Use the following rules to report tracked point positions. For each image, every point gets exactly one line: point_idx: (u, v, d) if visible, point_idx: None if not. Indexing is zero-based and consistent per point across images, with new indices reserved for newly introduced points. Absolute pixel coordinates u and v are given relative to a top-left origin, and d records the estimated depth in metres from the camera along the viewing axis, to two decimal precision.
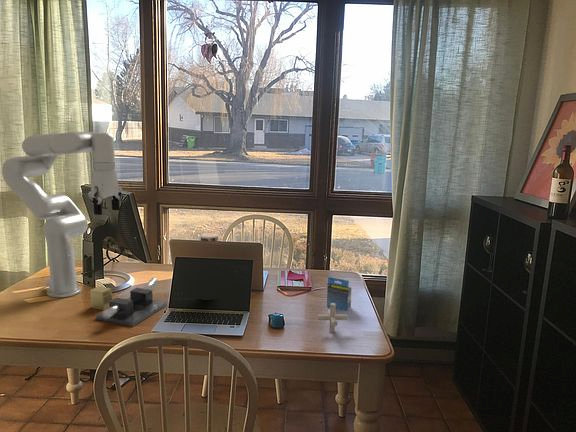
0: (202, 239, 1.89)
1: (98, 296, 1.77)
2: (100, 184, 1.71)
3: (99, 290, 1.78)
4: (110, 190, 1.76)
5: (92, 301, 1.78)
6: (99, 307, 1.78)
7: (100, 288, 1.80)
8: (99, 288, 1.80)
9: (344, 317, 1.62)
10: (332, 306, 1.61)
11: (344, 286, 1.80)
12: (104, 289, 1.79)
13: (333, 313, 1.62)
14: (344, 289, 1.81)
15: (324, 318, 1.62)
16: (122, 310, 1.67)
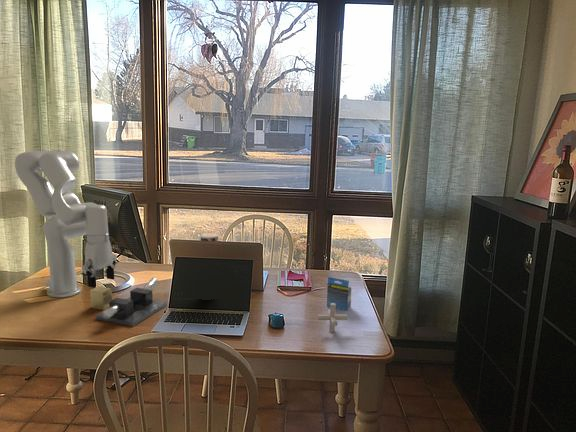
0: (202, 239, 1.89)
1: (98, 296, 1.77)
2: (94, 257, 1.71)
3: (99, 290, 1.78)
4: (104, 261, 1.75)
5: (92, 301, 1.78)
6: (99, 307, 1.78)
7: (100, 288, 1.80)
8: (99, 288, 1.80)
9: (344, 317, 1.62)
10: (332, 306, 1.61)
11: (344, 286, 1.80)
12: (104, 289, 1.79)
13: (333, 313, 1.62)
14: (344, 289, 1.81)
15: (324, 318, 1.62)
16: (122, 310, 1.67)
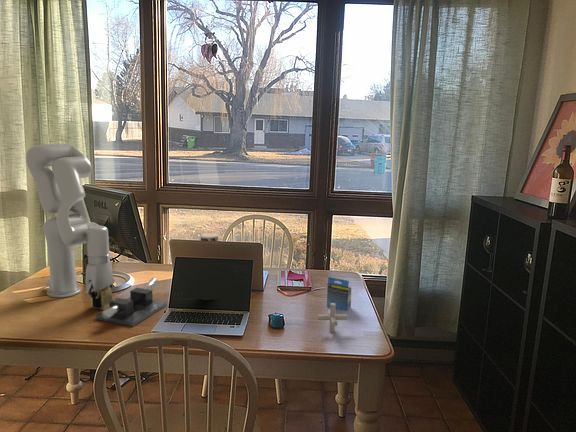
0: (202, 239, 1.89)
1: None
2: (94, 278, 1.73)
3: None
4: (104, 282, 1.77)
5: (92, 301, 1.78)
6: None
7: None
8: None
9: (344, 317, 1.62)
10: (332, 306, 1.61)
11: (344, 286, 1.80)
12: (104, 289, 1.79)
13: (333, 313, 1.62)
14: (344, 290, 1.80)
15: (324, 318, 1.62)
16: (122, 310, 1.67)
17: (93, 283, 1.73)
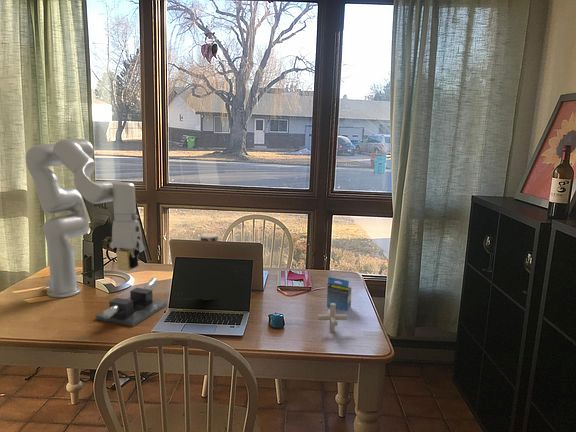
0: (202, 239, 1.89)
1: None
2: (112, 233, 1.70)
3: (123, 249, 1.71)
4: (122, 242, 1.68)
5: None
6: None
7: None
8: None
9: (344, 317, 1.62)
10: (332, 306, 1.61)
11: (344, 286, 1.80)
12: (125, 250, 1.70)
13: (333, 313, 1.62)
14: (344, 290, 1.80)
15: (324, 318, 1.62)
16: (122, 310, 1.67)
17: None
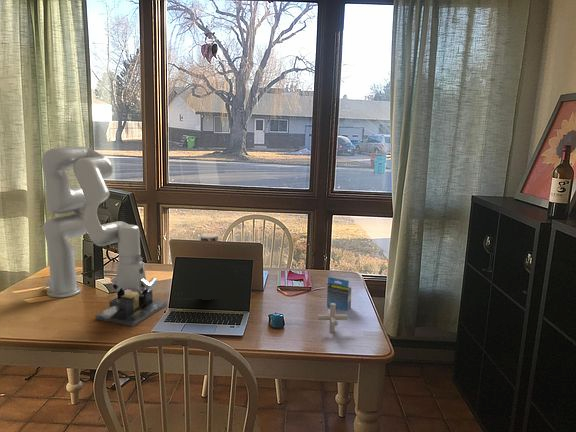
0: (202, 239, 1.89)
1: None
2: None
3: (127, 294, 1.74)
4: (126, 283, 1.71)
5: None
6: None
7: (134, 294, 1.75)
8: (134, 293, 1.75)
9: (344, 317, 1.62)
10: (332, 306, 1.61)
11: (344, 286, 1.80)
12: (129, 296, 1.73)
13: (333, 313, 1.62)
14: (344, 289, 1.81)
15: (324, 318, 1.62)
16: (122, 310, 1.67)
17: None
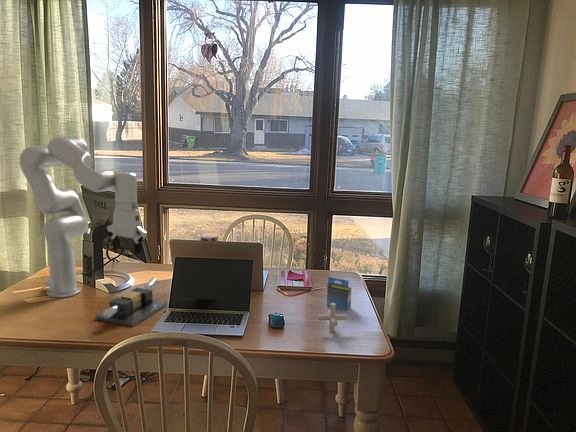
0: (202, 239, 1.89)
1: None
2: None
3: (127, 294, 1.74)
4: (121, 230, 1.72)
5: None
6: None
7: (134, 294, 1.75)
8: (134, 293, 1.75)
9: (344, 317, 1.62)
10: (332, 306, 1.61)
11: (344, 286, 1.80)
12: (129, 296, 1.73)
13: (333, 313, 1.62)
14: (344, 290, 1.80)
15: (324, 318, 1.62)
16: (122, 310, 1.67)
17: None
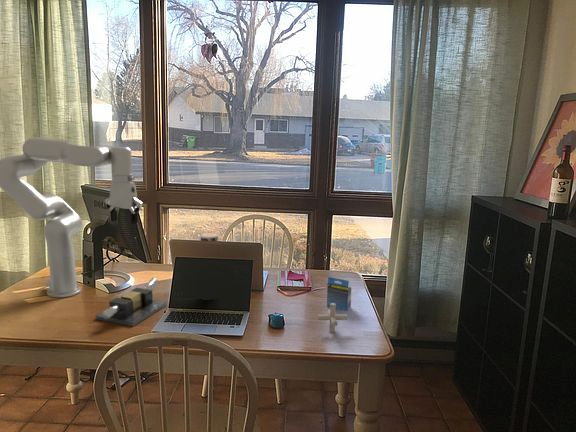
0: (202, 239, 1.89)
1: None
2: (110, 193, 1.85)
3: (127, 294, 1.74)
4: (118, 201, 1.83)
5: None
6: None
7: (134, 294, 1.75)
8: (134, 293, 1.75)
9: (344, 317, 1.62)
10: (332, 306, 1.61)
11: (344, 286, 1.80)
12: (129, 296, 1.73)
13: (333, 313, 1.62)
14: (344, 290, 1.81)
15: (324, 318, 1.62)
16: (122, 310, 1.67)
17: None
